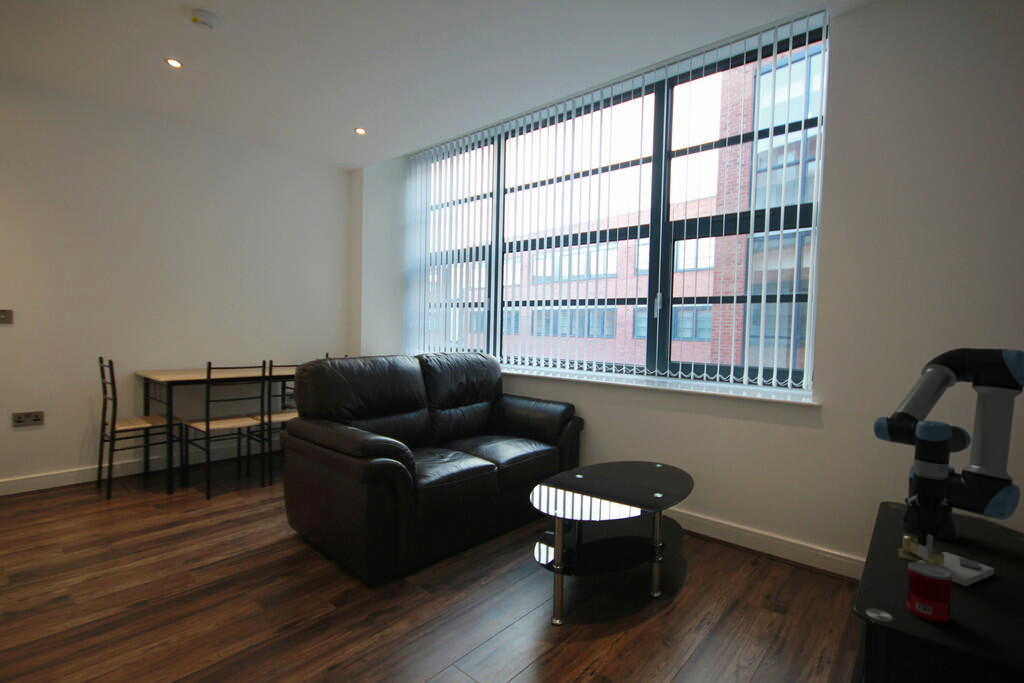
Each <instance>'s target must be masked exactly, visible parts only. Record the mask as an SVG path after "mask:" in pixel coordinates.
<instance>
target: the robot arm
mask: <svg viewBox="0 0 1024 683" xmlns="http://www.w3.org/2000/svg"><path fill="white" fill-rule="evenodd" d="M920 374H921V376H920V378H919V379H918V380H917V381H916V382H915V385H914V386H913V387H912V388H911V390H910V391H909V393H908V394H907V395H906V397H905V398H904V399H903V400H902V402H901V403H900V404H899V405H898V406H897V408H896V410H894V412H893V413H892V415H891V416H890V417H888V416H881V417H877V418H876V420H875V421H874V424H873V432H874V435H875V437H876V438H877V439H879V440H881V441H886V442H889V443H895V444H902V445H908V446H911V447H914V458H913V464H912V465H911V466H910V468H909V475H908V491H907V492H908V494H907V497H906V498H904V502H905V504H906V508H905V510H904V512H903V514H902V516H901V518H900V526H901V527H902V528H903V529H904V530H906V531H908V532H911V533H912V534H915V535H917V538H918V544H919V552H918V554H919V555H921V556H923V557H925V558H927V559H931V553H932V548H933V547H934V544H935V543H934V542H935V540H943V541H956V540H958V539H959V536H960V534H959V529H958V526H957V523H956V520H955V518H954V514H953V509H957V510H959V511H965V512H968V513H972V514H976V515H980V516H983V517H985V518H990V519H994V520H995V519H996V520H999V521H1003V520H1004V521H1005V520H1008V519H1011V517H1012V516H1013V515H1014V513H1015V512H1016V510H1017V508H1018V506H1019V502H1020V499H1021V493H1020V492H1021V490H1020V489H1021V488H1020V487H1019V486H1018V485H1016V484H1015V483H1014V484H1013V477H1012V476H1011V475H1010V474H1009V473H1008V472H1007V470H1008V462H1009V453H1010V445H1011V444H1010V443H1011V436H1012V426H1013V418H1014V410H1015V400H1016V397H1018V396H1019V395H1021V394H1023V390H1024V351H1022V350H1019V349H1007V348H971V347H961V348H954V349H951V350H949V351H946V352H944V353H941V354H939V355H937V356H935V357H933V359H931V360H930V361H929V362H927V364H925V365H924V367H923V368H922V370H921V372H920ZM959 382H961V383H962V382H963V383H964V382H965V383H972V385H971V388H972V389H973V390H974V391H975V392H976V393H977V395H976V396H977V397H976V404H975V413H974V420H973V421H974V422H973V430H972V438H971V436H970V434H969V432H967V430H965V429H964V428H962V427H961V426H956V425H950V424H949V423H947V422H943V421H937V420H936V421H935V420H925V419H926V418H927V417H928V415H929V414H930V413H931V411H932V410H933V408H934V407H935V405H937V404H938V403H939V402H938V401H939V400H940V399H941V398H942V396H943V395H944V393H946V391H947V389H948V388H952V387H953V386H954V385H955V384H956V383H959ZM970 445H971V447H970ZM969 447H970V455H969V464H968V465H967V466H965V467H963V468H962V469H961V473H958V472H956V470H955V467H953V466H950V458H951V457H950V456H951V454H952V453H960V452H963V451H964V450H966V449H967V448H969Z"/></svg>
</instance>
